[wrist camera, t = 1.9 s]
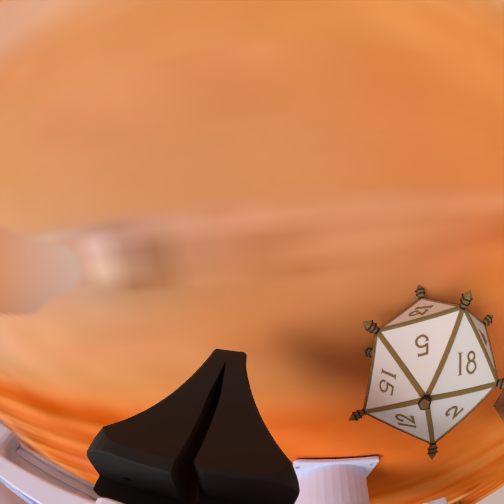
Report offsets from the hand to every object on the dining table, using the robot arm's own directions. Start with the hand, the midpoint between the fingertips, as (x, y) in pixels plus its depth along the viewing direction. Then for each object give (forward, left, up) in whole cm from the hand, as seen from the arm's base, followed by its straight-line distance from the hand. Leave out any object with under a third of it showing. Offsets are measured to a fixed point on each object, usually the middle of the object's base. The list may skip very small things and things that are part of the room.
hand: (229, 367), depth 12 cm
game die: (0, -10, -5) cm, 11 cm away
